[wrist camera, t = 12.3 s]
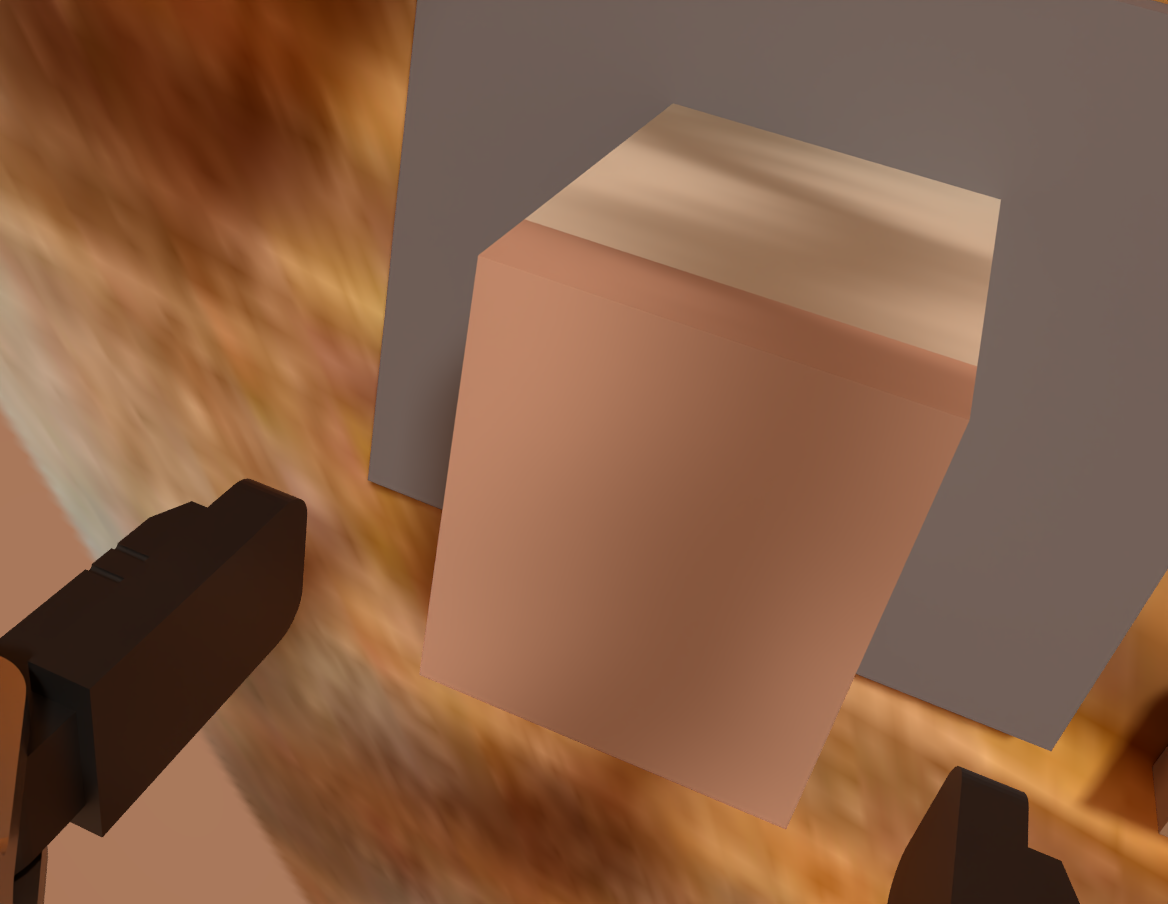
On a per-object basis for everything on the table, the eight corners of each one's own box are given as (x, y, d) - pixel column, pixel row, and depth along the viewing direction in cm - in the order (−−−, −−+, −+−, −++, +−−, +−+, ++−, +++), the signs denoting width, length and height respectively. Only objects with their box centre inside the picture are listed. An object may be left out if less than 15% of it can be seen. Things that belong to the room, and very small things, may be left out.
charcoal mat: (391, 456, 24) (368, 480, 23) (465, -181, 17) (435, -180, 16) (1050, 714, 21) (1051, 751, 20) (1446, 78, 14) (1471, 94, 13)
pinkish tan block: (563, 545, 21) (347, 738, 13) (695, 117, 19) (542, 18, 11) (820, 645, 20) (768, 924, 12) (989, 204, 18) (1070, 168, 10)
